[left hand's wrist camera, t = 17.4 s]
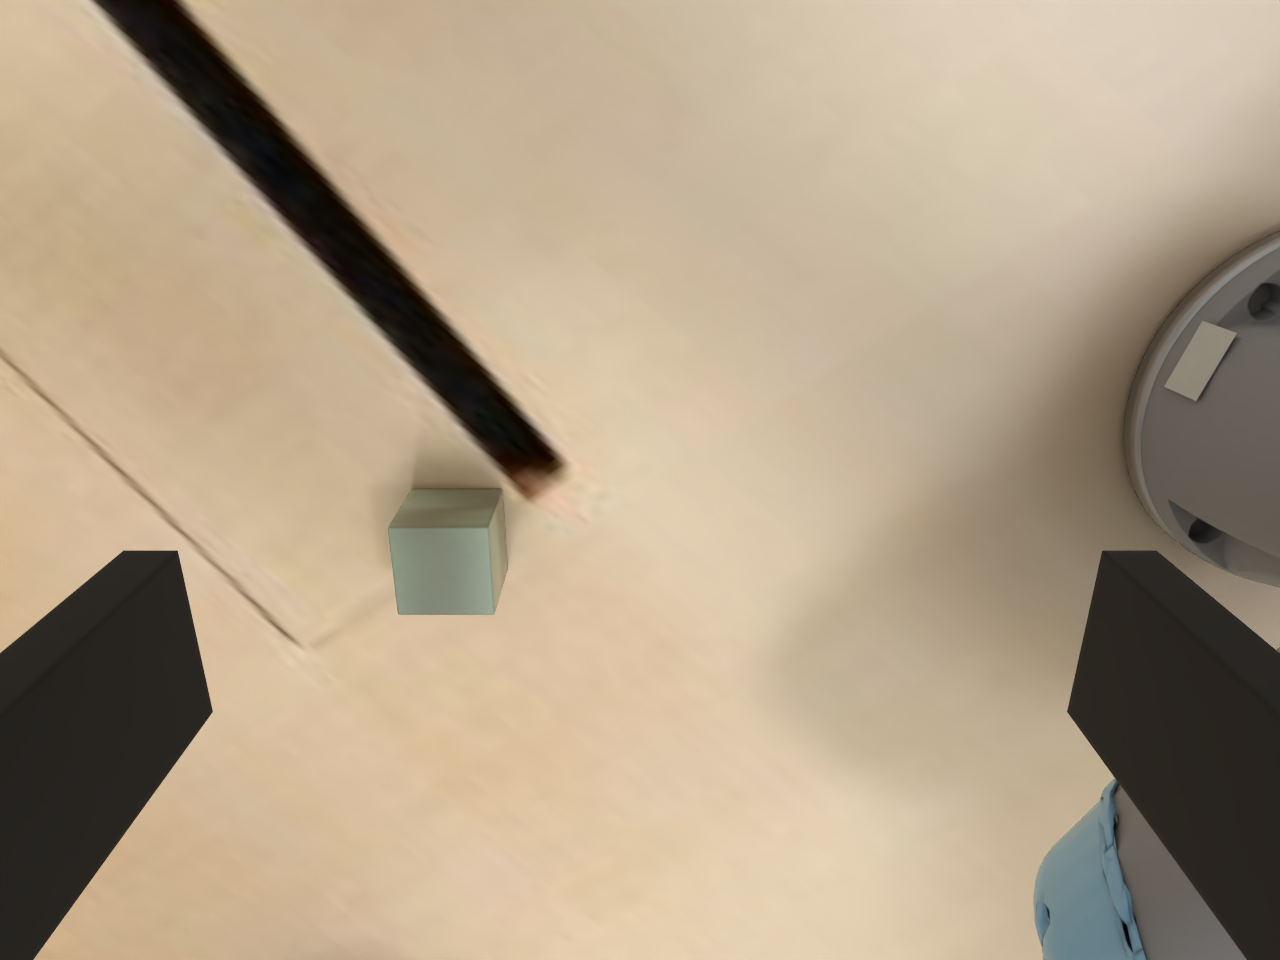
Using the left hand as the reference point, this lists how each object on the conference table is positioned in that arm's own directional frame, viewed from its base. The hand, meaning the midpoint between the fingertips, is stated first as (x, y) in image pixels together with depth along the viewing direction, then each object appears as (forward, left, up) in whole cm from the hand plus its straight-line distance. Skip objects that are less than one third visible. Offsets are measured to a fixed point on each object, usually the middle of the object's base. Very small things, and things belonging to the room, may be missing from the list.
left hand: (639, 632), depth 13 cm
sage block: (+8, +10, -25) cm, 28 cm away
